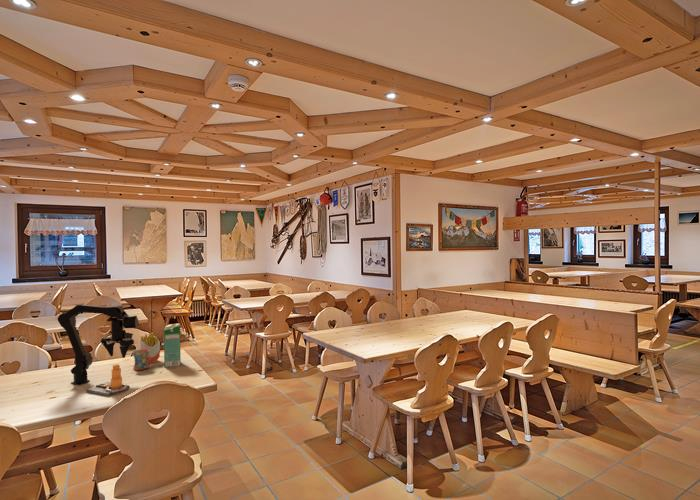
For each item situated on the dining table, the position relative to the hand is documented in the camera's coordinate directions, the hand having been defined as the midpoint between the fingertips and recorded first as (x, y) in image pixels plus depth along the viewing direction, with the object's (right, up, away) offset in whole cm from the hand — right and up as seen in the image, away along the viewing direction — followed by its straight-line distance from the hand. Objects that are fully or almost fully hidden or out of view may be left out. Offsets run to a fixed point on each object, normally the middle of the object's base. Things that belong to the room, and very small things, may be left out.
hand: (117, 356), depth 227 cm
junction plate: (+5, -13, -16) cm, 21 cm away
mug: (+4, -13, +20) cm, 24 cm away
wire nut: (+9, -12, -17) cm, 23 cm away
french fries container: (+2, -13, +34) cm, 36 cm away
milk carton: (+18, -13, +29) cm, 36 cm away
